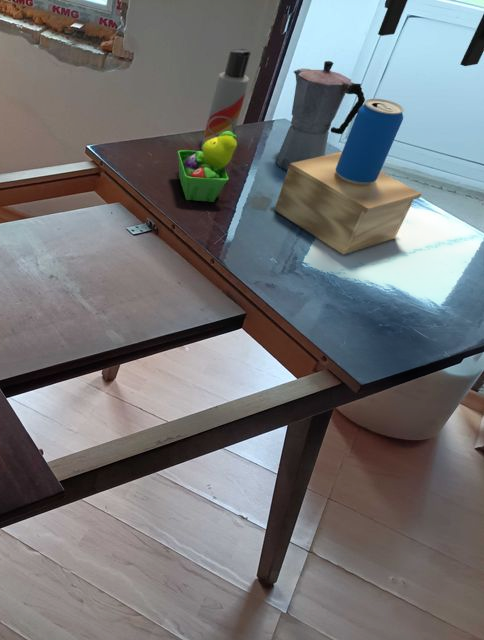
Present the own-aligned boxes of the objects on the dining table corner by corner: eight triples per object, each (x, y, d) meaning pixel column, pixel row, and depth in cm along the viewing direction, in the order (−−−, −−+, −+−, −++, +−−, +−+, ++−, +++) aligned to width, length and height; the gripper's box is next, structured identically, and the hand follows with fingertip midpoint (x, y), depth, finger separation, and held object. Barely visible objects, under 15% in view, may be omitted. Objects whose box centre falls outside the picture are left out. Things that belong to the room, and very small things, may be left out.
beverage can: (355, 166, 115) (385, 95, 107) (383, 184, 111) (416, 112, 103) (325, 171, 113) (352, 99, 105) (352, 189, 109) (383, 115, 101)
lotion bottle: (215, 159, 137) (243, 56, 124) (194, 149, 140) (219, 47, 127) (234, 153, 139) (263, 51, 126) (213, 143, 143) (239, 42, 130)
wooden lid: (419, 198, 110) (422, 193, 109) (366, 213, 105) (368, 208, 104) (340, 155, 120) (342, 151, 120) (288, 167, 115) (290, 163, 115)
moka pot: (281, 146, 143) (313, 47, 130) (347, 175, 135) (389, 72, 122) (254, 157, 139) (284, 55, 125) (321, 188, 130) (361, 82, 117)
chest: (393, 242, 116) (415, 195, 110) (341, 258, 111) (362, 210, 105) (323, 200, 126) (340, 155, 120) (272, 213, 121) (288, 167, 115)
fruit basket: (171, 174, 131) (184, 116, 123) (217, 177, 131) (233, 120, 123) (179, 203, 122) (193, 143, 115) (229, 207, 122) (246, 147, 115)
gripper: (397, -148, 89) (338, 25, 103) (591, -119, 73) (490, 82, 87) (434, -148, 92) (372, 21, 106) (628, -119, 76) (525, 75, 90)
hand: (425, 48), depth 97 cm, fingers open, 13 cm apart
